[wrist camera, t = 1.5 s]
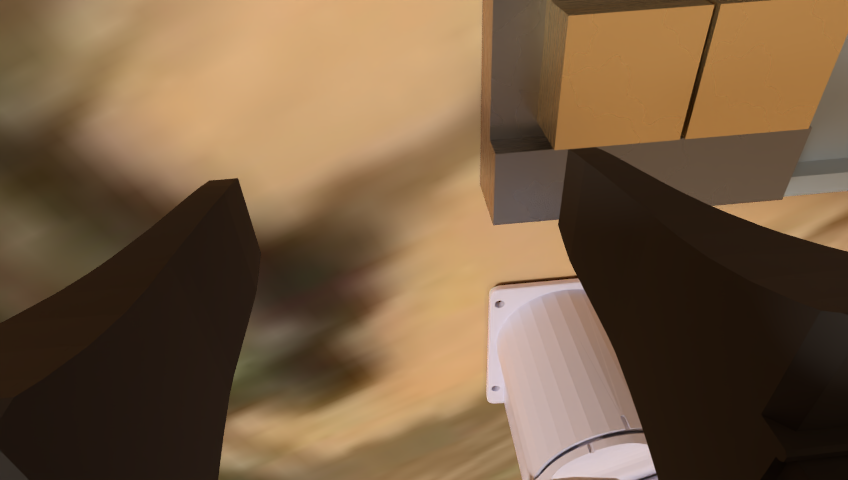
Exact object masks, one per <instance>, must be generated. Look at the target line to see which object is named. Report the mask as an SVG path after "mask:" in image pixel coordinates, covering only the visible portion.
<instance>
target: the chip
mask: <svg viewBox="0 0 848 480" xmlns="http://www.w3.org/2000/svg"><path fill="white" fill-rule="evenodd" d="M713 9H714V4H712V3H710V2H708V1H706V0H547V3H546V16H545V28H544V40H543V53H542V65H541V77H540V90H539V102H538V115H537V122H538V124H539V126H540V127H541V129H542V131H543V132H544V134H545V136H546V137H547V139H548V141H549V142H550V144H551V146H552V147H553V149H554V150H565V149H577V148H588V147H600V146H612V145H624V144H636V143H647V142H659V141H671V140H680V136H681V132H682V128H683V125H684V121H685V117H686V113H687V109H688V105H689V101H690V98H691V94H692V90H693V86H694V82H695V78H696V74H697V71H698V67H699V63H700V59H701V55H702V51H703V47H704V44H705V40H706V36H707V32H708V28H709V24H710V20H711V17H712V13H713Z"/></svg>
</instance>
